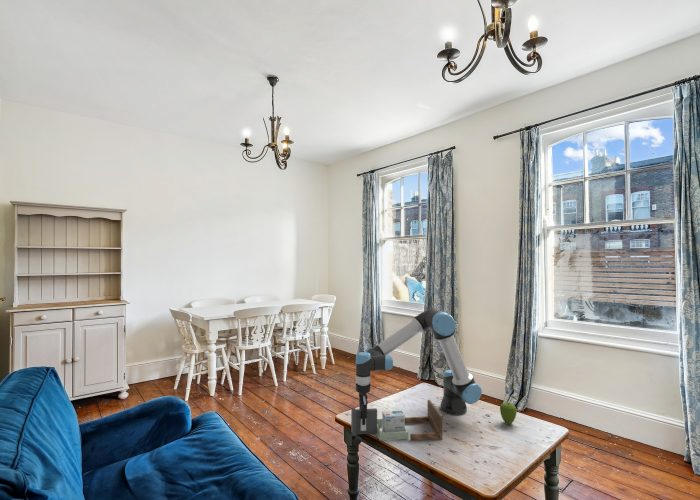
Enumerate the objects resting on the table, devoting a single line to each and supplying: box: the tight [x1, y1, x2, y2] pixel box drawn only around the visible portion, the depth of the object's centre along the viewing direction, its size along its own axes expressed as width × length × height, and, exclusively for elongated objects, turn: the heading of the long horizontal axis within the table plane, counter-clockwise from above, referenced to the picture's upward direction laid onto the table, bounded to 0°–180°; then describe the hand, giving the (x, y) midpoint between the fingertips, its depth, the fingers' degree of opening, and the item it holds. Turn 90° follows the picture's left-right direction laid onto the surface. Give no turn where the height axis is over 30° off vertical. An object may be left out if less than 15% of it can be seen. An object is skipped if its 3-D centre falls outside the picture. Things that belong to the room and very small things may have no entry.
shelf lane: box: [405, 399, 444, 442], centre depth 189 cm, size 16×20×12 cm
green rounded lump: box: [499, 401, 518, 425], centre depth 198 cm, size 9×8×12 cm
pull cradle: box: [350, 407, 409, 441], centre depth 187 cm, size 28×16×12 cm, turn 96°
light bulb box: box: [381, 409, 406, 432], centre depth 187 cm, size 11×7×11 cm, turn 98°
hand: (362, 428), depth 186 cm, fingers closed on pull cradle, 2 cm apart
